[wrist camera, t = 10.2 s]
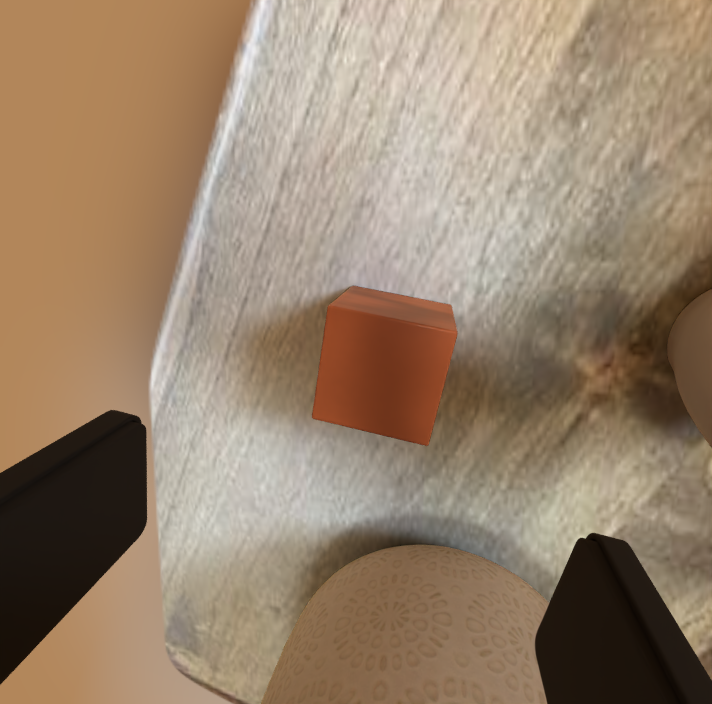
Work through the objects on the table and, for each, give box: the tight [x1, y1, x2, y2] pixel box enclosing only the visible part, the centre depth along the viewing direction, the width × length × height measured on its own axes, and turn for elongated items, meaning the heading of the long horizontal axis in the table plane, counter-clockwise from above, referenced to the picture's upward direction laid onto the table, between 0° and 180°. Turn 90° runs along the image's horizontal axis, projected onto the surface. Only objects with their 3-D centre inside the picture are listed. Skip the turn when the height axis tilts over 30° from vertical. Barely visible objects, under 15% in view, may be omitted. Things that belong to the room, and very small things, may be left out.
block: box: [312, 286, 458, 446], centre depth 18 cm, size 5×5×5 cm
